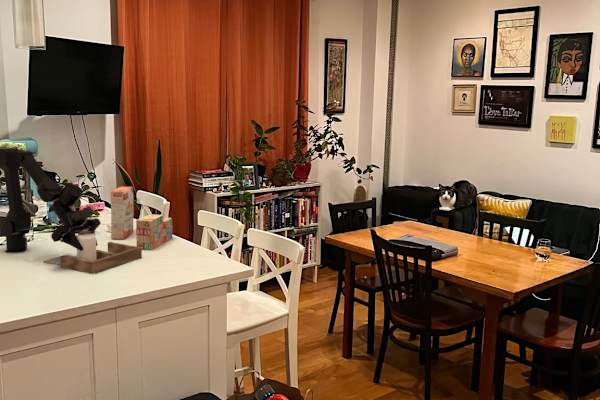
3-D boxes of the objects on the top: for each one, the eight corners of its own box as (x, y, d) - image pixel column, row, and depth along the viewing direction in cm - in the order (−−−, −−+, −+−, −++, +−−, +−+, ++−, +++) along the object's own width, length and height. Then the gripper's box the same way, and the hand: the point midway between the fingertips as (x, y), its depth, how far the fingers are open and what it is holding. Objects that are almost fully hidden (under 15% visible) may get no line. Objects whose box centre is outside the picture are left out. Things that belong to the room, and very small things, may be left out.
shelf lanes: (60, 267, 207) (60, 256, 206) (110, 251, 229) (110, 241, 228) (93, 274, 200) (93, 262, 200) (141, 257, 222) (141, 247, 222)
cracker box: (124, 240, 248) (124, 191, 244) (110, 239, 248) (109, 190, 244) (134, 232, 261) (134, 186, 258) (121, 232, 261) (120, 185, 258)
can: (80, 262, 213) (79, 230, 211) (98, 262, 214) (97, 230, 212) (75, 267, 207) (74, 234, 205) (94, 267, 207) (93, 235, 205)
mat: (43, 262, 212) (43, 261, 212) (67, 255, 222) (67, 254, 222) (62, 266, 208) (62, 265, 208) (85, 259, 218) (85, 258, 218)
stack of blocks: (159, 237, 254) (159, 209, 252) (172, 238, 253) (172, 210, 251) (136, 249, 234) (135, 219, 232) (150, 251, 233) (150, 220, 230)
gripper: (55, 204, 200) (80, 239, 197) (96, 196, 216) (120, 229, 213) (40, 223, 204) (64, 259, 202) (81, 215, 221) (104, 247, 218)
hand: (89, 247), depth 209 cm, fingers closed on can, 6 cm apart
